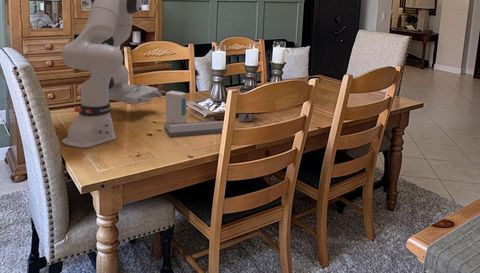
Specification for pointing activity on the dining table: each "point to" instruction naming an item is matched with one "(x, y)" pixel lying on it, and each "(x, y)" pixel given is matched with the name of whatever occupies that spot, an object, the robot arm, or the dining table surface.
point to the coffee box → (246, 116)
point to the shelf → (193, 128)
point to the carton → (175, 107)
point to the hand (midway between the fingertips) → (155, 98)
